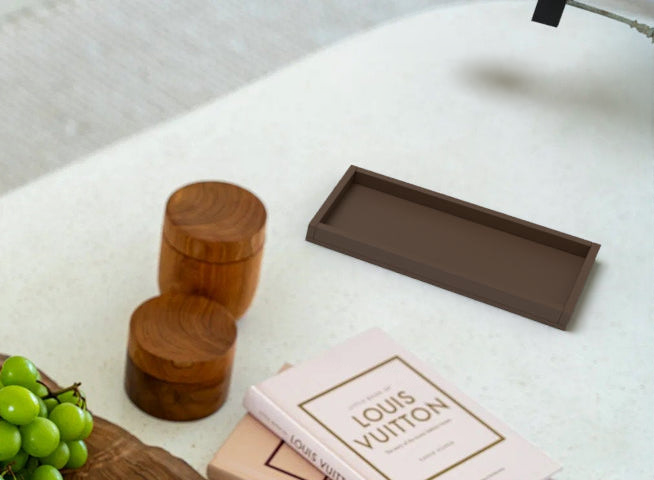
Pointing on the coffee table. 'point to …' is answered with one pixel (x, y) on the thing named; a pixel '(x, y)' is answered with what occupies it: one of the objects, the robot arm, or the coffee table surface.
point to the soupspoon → (616, 18)
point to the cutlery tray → (455, 245)
